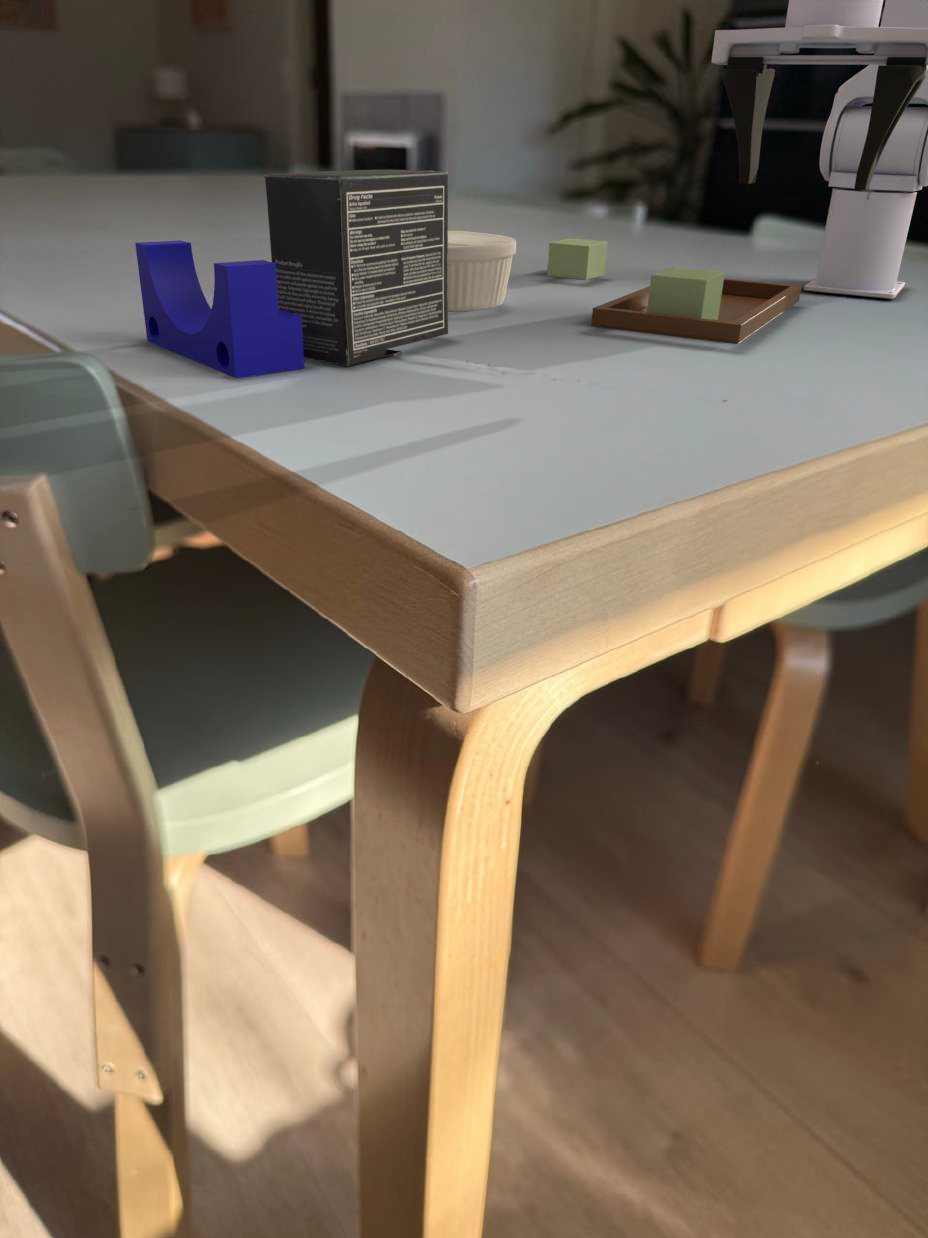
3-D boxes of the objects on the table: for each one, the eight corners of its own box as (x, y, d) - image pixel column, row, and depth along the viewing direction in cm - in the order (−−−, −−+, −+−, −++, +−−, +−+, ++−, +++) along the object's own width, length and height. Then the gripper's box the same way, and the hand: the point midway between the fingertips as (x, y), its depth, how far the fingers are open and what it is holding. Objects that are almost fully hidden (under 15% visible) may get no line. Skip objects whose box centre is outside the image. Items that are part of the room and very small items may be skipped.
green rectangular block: (666, 315, 73) (671, 266, 71) (717, 321, 71) (725, 271, 69) (645, 325, 69) (650, 274, 67) (699, 331, 67) (706, 279, 65)
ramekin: (356, 315, 72) (354, 240, 70) (392, 293, 82) (391, 227, 79) (502, 324, 71) (505, 248, 68) (520, 300, 80) (524, 233, 78)
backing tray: (677, 294, 86) (680, 273, 85) (797, 307, 81) (802, 285, 80) (590, 333, 69) (592, 307, 68) (737, 352, 64) (741, 324, 63)
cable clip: (304, 368, 57) (299, 261, 54) (236, 378, 54) (226, 266, 51) (210, 333, 65) (201, 239, 62) (147, 340, 62) (135, 242, 59)
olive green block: (566, 275, 94) (569, 238, 93) (604, 279, 93) (608, 241, 91) (546, 281, 90) (549, 242, 89) (585, 285, 89) (589, 245, 87)
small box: (377, 328, 68) (375, 165, 63) (451, 341, 65) (455, 171, 60) (270, 352, 60) (258, 168, 55) (349, 368, 57) (343, 174, 52)
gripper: (713, -58, 59) (683, 182, 65) (969, -70, 53) (910, 195, 60) (739, -41, 65) (710, 179, 71) (974, -51, 59) (919, 190, 65)
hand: (802, 186), depth 66 cm, fingers open, 7 cm apart
